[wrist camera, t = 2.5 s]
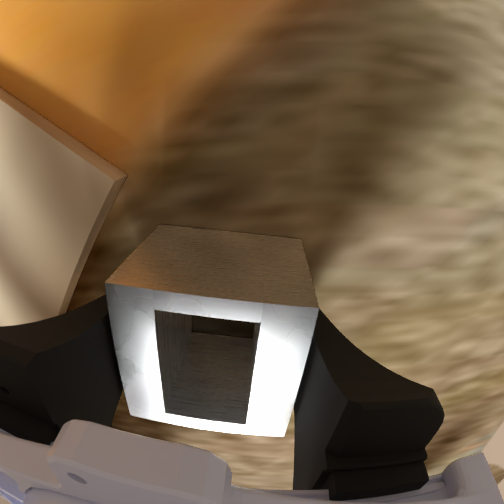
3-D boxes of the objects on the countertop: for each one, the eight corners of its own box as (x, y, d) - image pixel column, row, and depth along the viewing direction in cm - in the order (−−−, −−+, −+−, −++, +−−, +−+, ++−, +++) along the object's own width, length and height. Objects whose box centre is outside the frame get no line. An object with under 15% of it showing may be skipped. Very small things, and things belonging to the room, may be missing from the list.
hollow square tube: (280, 351, 15) (284, 436, 10) (163, 336, 15) (130, 414, 10) (300, 239, 12) (319, 308, 8) (159, 224, 12) (104, 282, 8)
